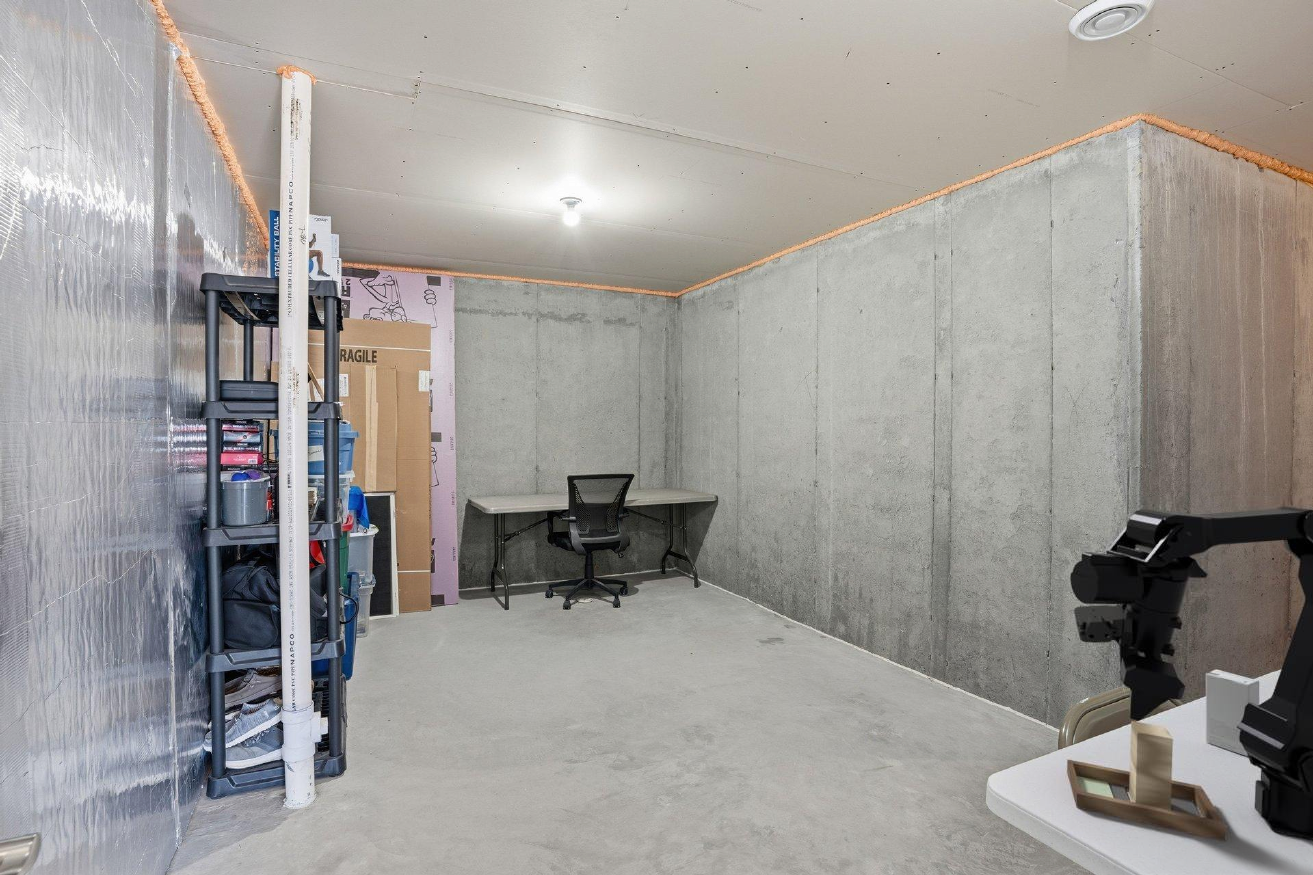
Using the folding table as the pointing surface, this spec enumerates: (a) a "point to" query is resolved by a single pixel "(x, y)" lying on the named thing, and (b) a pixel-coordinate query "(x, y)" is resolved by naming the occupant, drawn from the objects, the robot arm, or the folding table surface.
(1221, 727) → the skincare box
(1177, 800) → the pads
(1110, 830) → the folding table surface
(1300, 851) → the folding table surface
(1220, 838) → the brown rectangular frame
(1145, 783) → the maple block
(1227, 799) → the folding table surface
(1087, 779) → the pad
